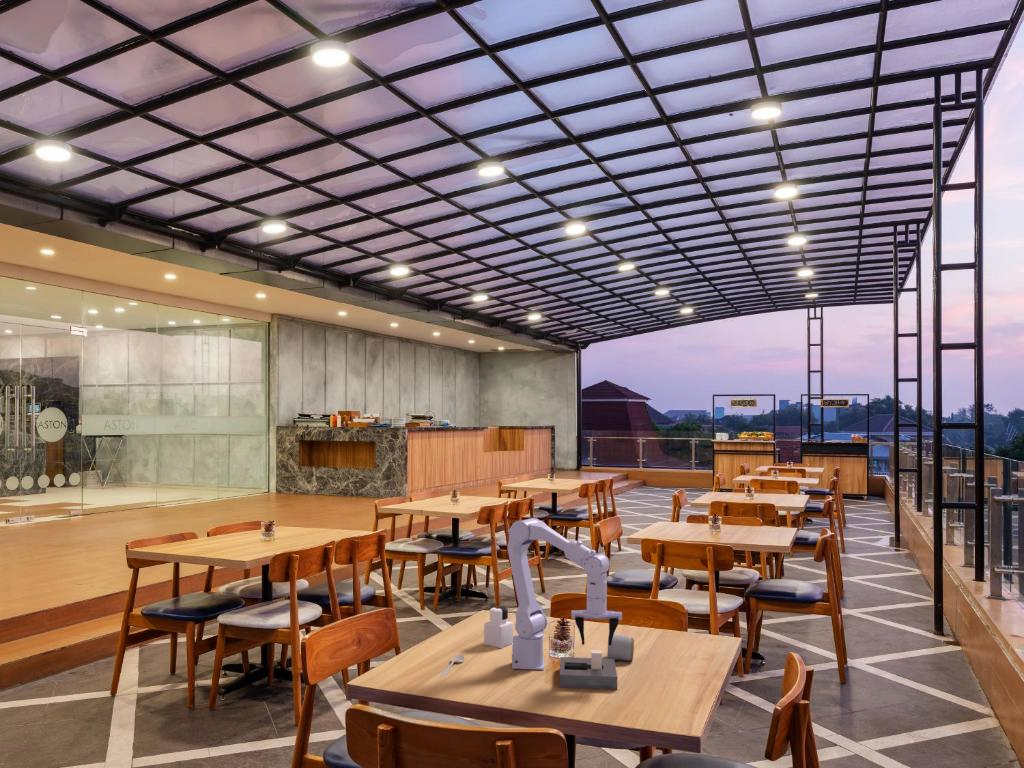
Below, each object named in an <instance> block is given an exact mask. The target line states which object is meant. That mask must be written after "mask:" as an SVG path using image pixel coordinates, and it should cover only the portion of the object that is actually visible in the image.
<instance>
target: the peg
mask: <svg viewBox="0 0 1024 768" xmlns="http://www.w3.org/2000/svg"><path fill="white" fill-rule="evenodd" d="M590 656H591V657H590V658H591V669H602V659H603V651H602V650H601V649H599V650H598V649H591V650H590Z"/></svg>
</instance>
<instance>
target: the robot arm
mask: <svg viewBox="0 0 1024 768" xmlns="http://www.w3.org/2000/svg"><path fill="white" fill-rule="evenodd" d="M508 535H509V538H508V543H507V546H506V547H507V554H508V558H509V563H510V568H511V574H512V577H513V578H512V579H513V583H514V587H515V588H514V589H515V592H516V597H517V602H518V607H517V609H516V611H515V622H514V623H515V626H514V627H515V631H516V633H517V634H518V635H513V644H511V646H512V648H511V649H512V651H511V652H512V653H511V663H512V666H511V667H512V669H513V670H514V669H515V670H537V671H539V670H540V671H541V670H542V671H544V670H545V660H544V631H545V630H546V629H547V626H548V619H547V616H546V614H545V612H544V611H543V608H542V605H541V604H539V602H537V599H536V593H535V587H534V584H533V579H532V575H531V568H530V565H529V564H530V563H529V560H528V555H527V554H528V553H527V550H528V548H529V547H530V545H531V544H532V543H533V542H534V541H536V540H537V541H538V540H543V541H545V542H546V543H548V544H550V545H552V546H554V547H556V548H557V549H559V550H561V551H563V553H564V556H565V558H566V559H569V560H570V561H571V562H573V563H575V565H577V566H579V567H580V568H582V569H583V571H584V573H585V575H586V609H581V610H580V609H579V610H578V609H577V610H571V619H572V620H575V625H576V626H577V629H578V633H579V635H580V639H581V645H582V646H585V619H590V620H591V619H592V620H608V637H609V640H608V639H607V643H608V642H609V646H611V643H612V638H613V635H614V634H615V632H616V629H617V628H618V625H619V621H623V613H622V611H613V610H607V608H608V607H607V600H608V599H607V598H608V596H607V595H608V593H607V592H608V590H607V589H608V587H607V586H608V584H607V583H608V581H607V578H608V574H607V572H608V571H609V570H610V567H611V561H610V559H609V558H608V556H607V555H605V554H604V553H602V552H598V553H597V551H596V550H595V549H590V548H589V547H587V546H586V545H584V544H583V543H584V542H583V541H581V540H572V541H569V539H567V538H566V537H564V536H563V535H561V534H560V533H558V532H557V531H555V530H554V529H552V528H551V527H549V525H547V524H546V523H545V522H544V521H541V520H540V519H538V518H536V517H531V518H527V519H524V520H523V519H522V520H515V521H514V522H513V524H512V525H511V526H510V527H509V529H508Z"/></svg>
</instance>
